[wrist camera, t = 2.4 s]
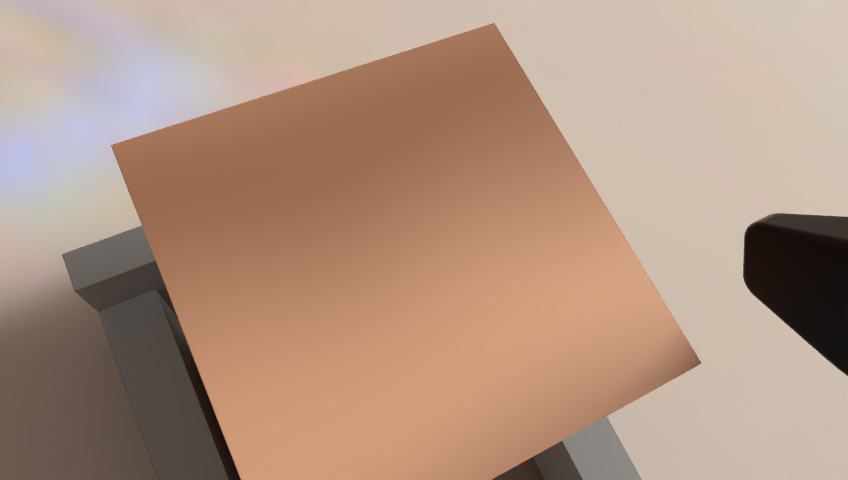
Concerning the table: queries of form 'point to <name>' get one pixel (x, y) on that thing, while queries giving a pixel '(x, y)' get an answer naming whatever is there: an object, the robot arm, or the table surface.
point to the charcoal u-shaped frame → (183, 388)
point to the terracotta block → (398, 271)
